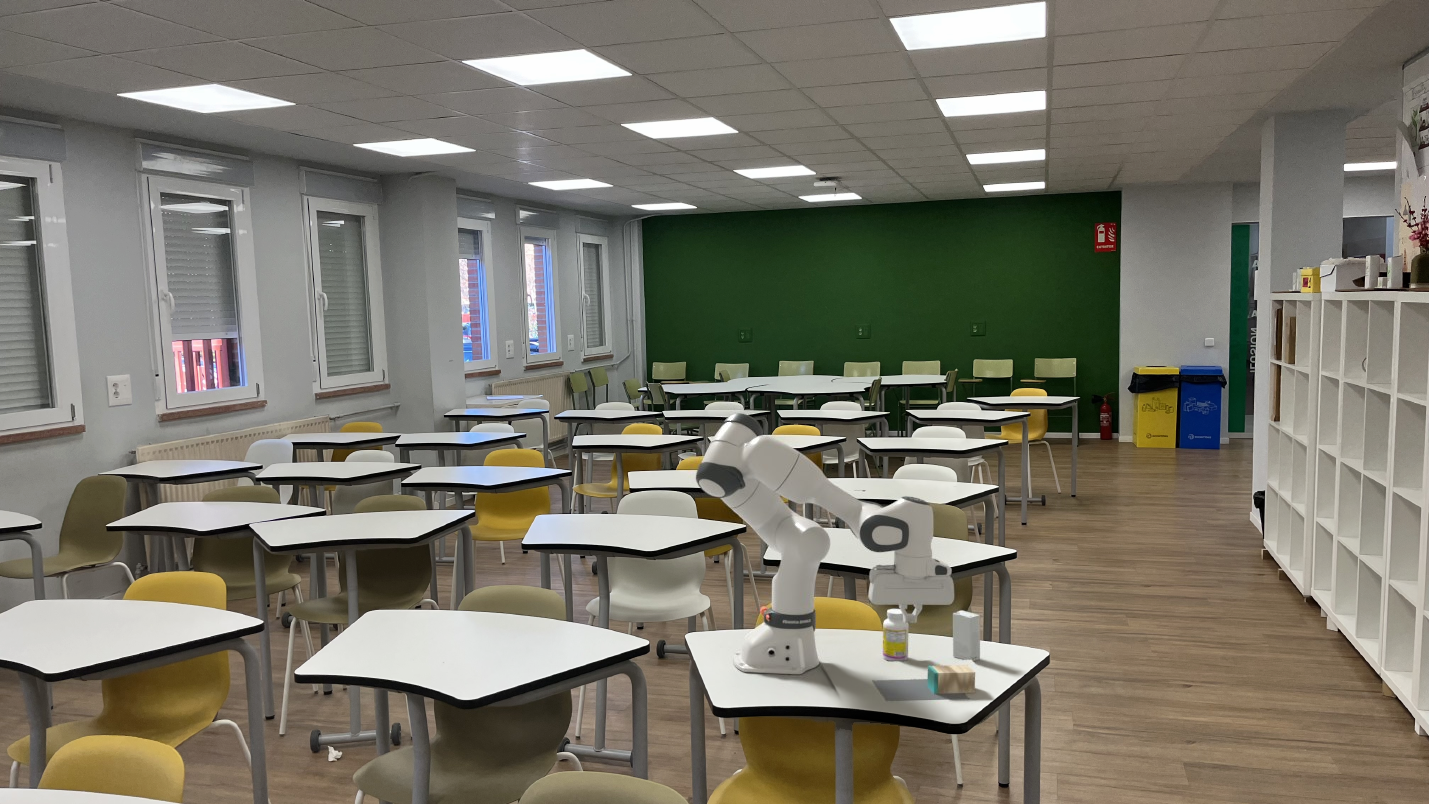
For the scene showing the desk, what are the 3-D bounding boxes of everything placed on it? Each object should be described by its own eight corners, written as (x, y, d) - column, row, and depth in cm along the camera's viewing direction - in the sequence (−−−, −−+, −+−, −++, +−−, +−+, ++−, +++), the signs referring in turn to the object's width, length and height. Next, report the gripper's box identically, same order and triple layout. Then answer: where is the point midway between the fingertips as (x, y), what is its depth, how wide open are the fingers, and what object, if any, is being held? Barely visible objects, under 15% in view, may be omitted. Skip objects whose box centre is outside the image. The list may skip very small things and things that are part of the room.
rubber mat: (886, 705, 225) (886, 700, 225) (872, 684, 238) (872, 680, 238) (969, 702, 227) (969, 698, 227) (950, 682, 240) (950, 678, 240)
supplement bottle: (889, 652, 262) (890, 605, 260) (911, 657, 258) (913, 610, 257) (878, 659, 256) (879, 611, 255) (901, 664, 252) (902, 616, 251)
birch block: (934, 673, 229) (975, 672, 230) (927, 665, 234) (967, 664, 235) (933, 693, 230) (974, 692, 231) (927, 685, 235) (967, 684, 236)
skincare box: (980, 659, 257) (982, 614, 256) (970, 663, 254) (971, 617, 253) (961, 653, 261) (962, 609, 261) (951, 656, 259) (952, 612, 258)
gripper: (873, 568, 225) (870, 626, 226) (958, 568, 228) (955, 626, 229) (866, 561, 231) (863, 618, 233) (948, 562, 234) (945, 618, 235)
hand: (909, 622), depth 231 cm, fingers closed
